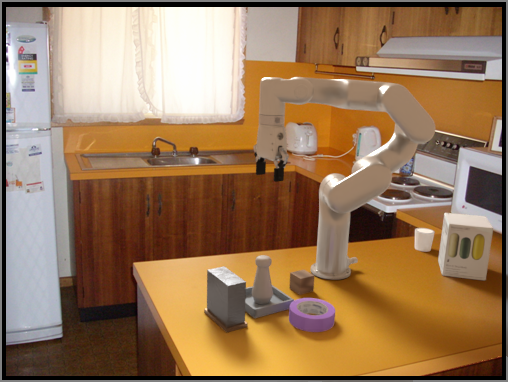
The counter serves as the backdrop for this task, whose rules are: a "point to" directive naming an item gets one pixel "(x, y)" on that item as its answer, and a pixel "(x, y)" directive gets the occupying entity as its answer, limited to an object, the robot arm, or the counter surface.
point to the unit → (226, 299)
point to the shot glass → (423, 239)
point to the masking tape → (311, 322)
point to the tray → (275, 305)
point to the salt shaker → (262, 281)
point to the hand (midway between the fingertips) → (269, 177)
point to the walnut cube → (301, 282)
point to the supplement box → (465, 246)
